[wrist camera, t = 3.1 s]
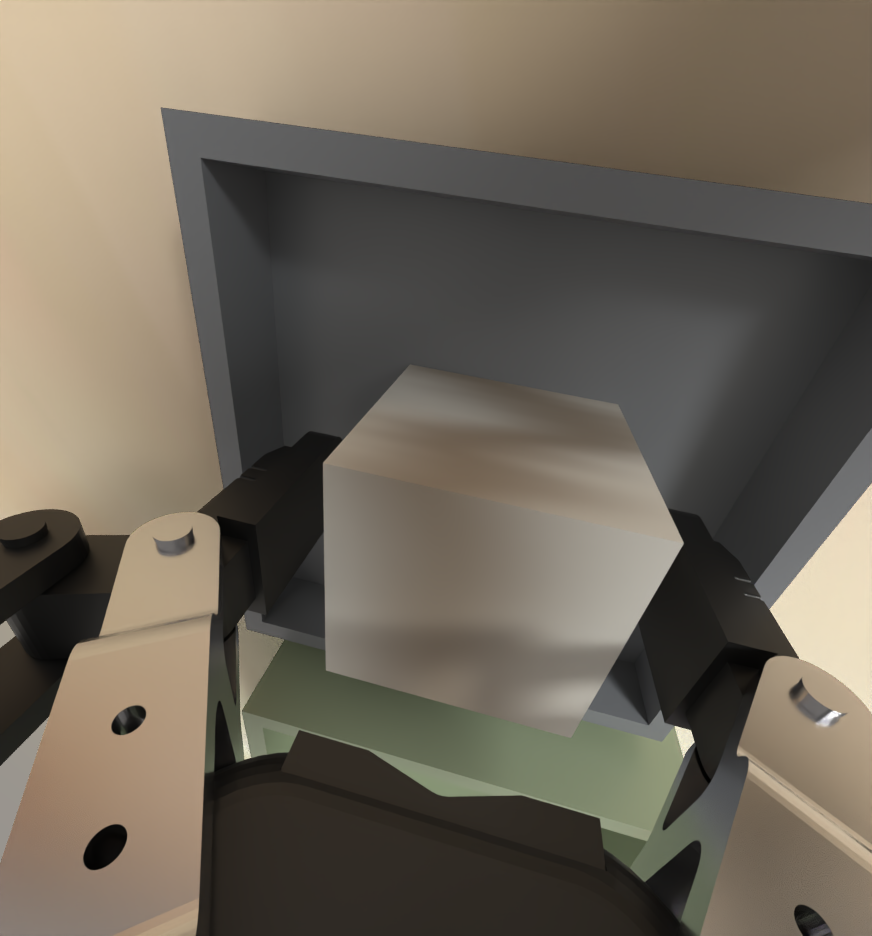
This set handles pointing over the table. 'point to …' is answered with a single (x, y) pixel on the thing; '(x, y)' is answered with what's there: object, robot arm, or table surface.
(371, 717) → the olive bin
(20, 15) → the table surface
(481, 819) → the robot arm
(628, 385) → the charcoal tray
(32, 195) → the table surface
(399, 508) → the white block
